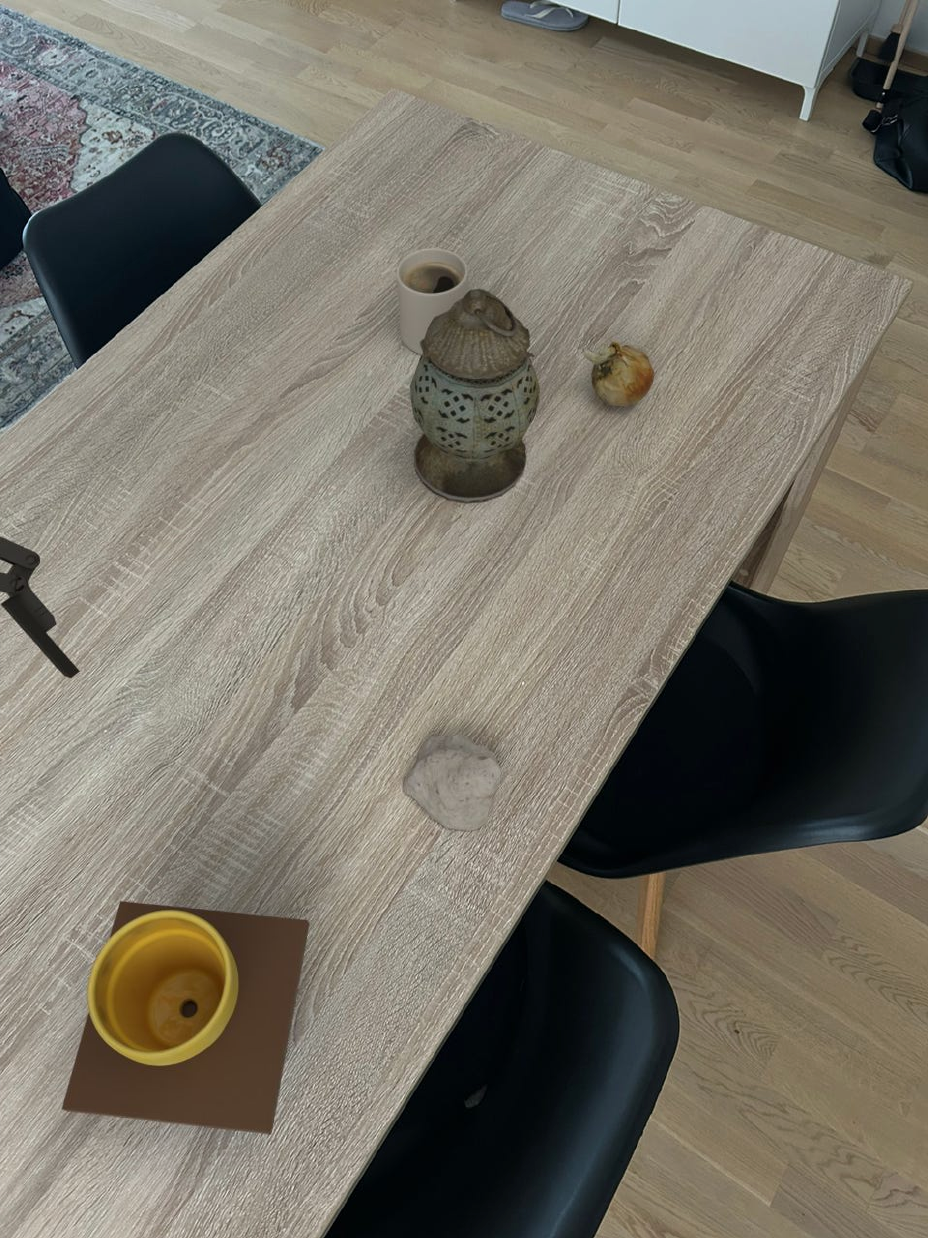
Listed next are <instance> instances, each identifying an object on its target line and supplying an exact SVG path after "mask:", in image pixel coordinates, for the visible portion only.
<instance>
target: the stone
mask: <svg viewBox="0 0 928 1238" xmlns="http://www.w3.org/2000/svg"><path fill="white" fill-rule="evenodd" d="M502 776H503V771H502V769H501V767H500V765H499V762H498V759H497V757H496V755H495V753H494V752H493V751H492V750H490V749H489V748H488V746H487V745H478V744H477V743H475V742H474V741H473V740H471V739H470V738H468V737H466V736H463V735H460V734H453V735H444V736H443V735H437V734H435V735H431V736H430V737H425V739H424V742H423V743H422V745H421V747H420V749H419V750H418V752H417V762H416V763H415V765H414V766H413V767H412V768H411V770H410V771H409V772H408V773H407V775H406V777H405V778H404V780H403V783H402V784H403V785H402V790H403V792H404V793H405V795H407V796H410V797H411V798H413V799H414V800H415V801H416V802H417V804H418V805H419V806H420V808H422V809H423V810H424V811H425V812H426V813H427V814H428V815H429V816H430V817H431V818H432V819H433V820H435V821H436V822H437V823H438V824H439V825H441V826H442V827H444V828H446V829H449V830H455V831H467V832H471V831H476V830H478V829H480V828H481V827H482V826H484V824H486V822H487V821H488V819H489V815H490V811H491V809H492V806H493V802H494V798H495V797H494V796H495V793H496V791H497V790H498V788H499V786H500V783H501V780H502Z"/></svg>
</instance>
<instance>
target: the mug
mask: <svg viewBox="0 0 928 1238" xmlns="http://www.w3.org/2000/svg"><path fill="white" fill-rule="evenodd" d="M468 268H469V267H468V265H467V263H466V261H465V260H464V259H463V257H461V256H460V255H459V254H458V253H456V252H454V251H451V250H448V249H445V248H441V247H426V248H422V249H417V250H414V251H412V252H410V253H408V254H407V255H405V256H404V257H403V258H402V259H401V260H400V261H399V263H398V264H397V267H396V270H395V278H396V289H397V290H396V291H397V302H398V316H399V327H400V337H401V340H402V343H404V345H405V346H406V347H407V348H408V349H409V350H410V351H412V352H414V353H415V354H418V355H420V356H421V355H422V354H423V351H422V349H421V346H420V341H421V340H423V339H424V338H425V335H426V332H427V329H428V327H429V325H430V324H431V322H432V320H433V319H434V317H436V316H438V315H440V314H443V313H445V312H447V311H449V309H450V308H451V307H452V306H453V305H454V303H455V302H457V301H458V300H460V299H462V298H463V297H464V296H465V295H466V293H467V292H469V269H468Z"/></svg>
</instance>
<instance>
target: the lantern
mask: <svg viewBox="0 0 928 1238" xmlns="http://www.w3.org/2000/svg"><path fill="white" fill-rule="evenodd" d="M530 338H531V333H530V330H529V328H526V326H524V324H523V323H522V322H521V321H520V320H519V319H518V318H517V317H515V315H514V313H513V311H512V310H511V309H510V307H508V306H507V304H506V303H505V302H504V301H502V300H501V299H500V298H499V297H498V296H496V295H495V294H493V293H491V292H490V291H488V290H486V289H483V288H475V289H471V290H468V292H467V293H466V295H465V296H464V297H463V298H462V299H460V300H458V301H457V302H455V303H454V305H453V306H452V307H451V308H450V309H449V311H447V312H445V313H443V314H440V315H438V316H436V317H434V319H433V320H432V322H431V324H430V325H429V327H428V329H427V332H426V335H425V338H424V339H423V340H421V341H420V346H421V349H422V351H423V354H422V355H421V354H420V356H419V360H418V362H417V364H416V368H415V370H414V373H413V376H412V378H411V381H410V384H409V393H410V394H409V395H410V403H411V404H410V405H411V409H412V415H413V420H414V421H415V422H416V424H417V425H418V427H419V428H420V430H421V431H422V433H423V434H422V435H421V437H420V438H419V439H418V440H417V442H416V446H415V449H414V452H413V461H414V471H415V473H416V475H417V477H418V478H419V480H420V482H421V484H422V485H423V486H425V487H426V489H428V490H429V491H430V492H431V493H432V494H434V495H436V496H438V497H441V498H443V499H445V500H448V501H451V502H456V503H462V504H475V503H485V502H488V501H491V500H494V499H497V498H499V497H502V496H503V495H505V494H506V493H508V492H509V491H510V490H511V489H513V488H514V487H516V485H517V484H518V482H519V480H520V479H521V478H522V477H523V474H524V471H525V467H526V462H527V454H526V453H527V452H526V443H524V441H523V438H524V436H525V434H526V433H527V431H528V429H529V427H530V426H531V425H532V424H531V423H532V422H533V420H534V419H535V416H536V413H537V410H538V408H539V405H540V396H541V395H540V394H541V393H540V392H541V391H540V390H541V389H540V383H539V379H538V376H537V373H536V369H535V368H534V365H533V363H532V360H531V358H535V354H534V353H533V352H529V351H528V350H529V348H530V346H531V341H530Z"/></svg>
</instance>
